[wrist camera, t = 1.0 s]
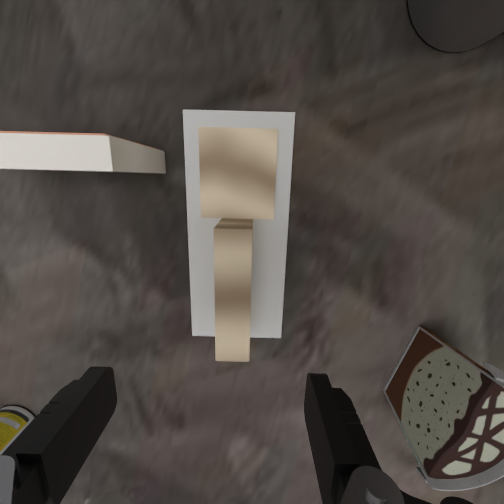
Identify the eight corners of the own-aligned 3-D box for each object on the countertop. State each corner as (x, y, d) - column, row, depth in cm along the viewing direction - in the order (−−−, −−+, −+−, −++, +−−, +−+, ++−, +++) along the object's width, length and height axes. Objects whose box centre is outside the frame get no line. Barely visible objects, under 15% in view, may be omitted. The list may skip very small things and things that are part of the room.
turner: (268, 325, 30) (271, 362, 24) (205, 324, 30) (193, 360, 24) (277, 130, 24) (284, 115, 18) (200, 128, 24) (182, 113, 18)
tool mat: (294, 113, 24) (295, 112, 24) (280, 336, 30) (281, 338, 30) (183, 110, 24) (182, 109, 24) (193, 333, 30) (192, 335, 30)
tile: (164, 149, 25) (108, 132, 15) (166, 173, 26) (112, 171, 16) (37, 146, 25) (-98, 127, 15) (41, 170, 26) (-86, 166, 16)
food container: (422, 412, 33) (491, 508, 23) (377, 399, 33) (428, 493, 23) (474, 328, 30) (578, 401, 20) (424, 313, 29) (507, 380, 20)
